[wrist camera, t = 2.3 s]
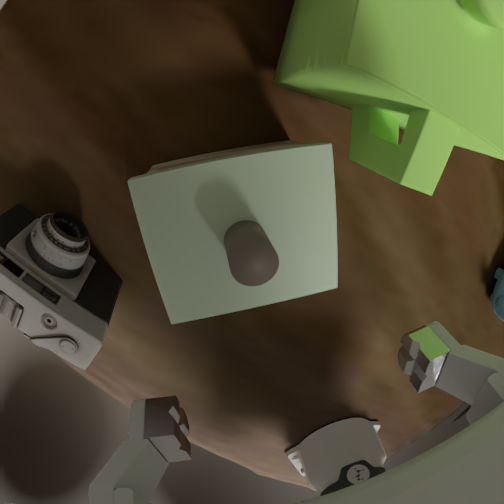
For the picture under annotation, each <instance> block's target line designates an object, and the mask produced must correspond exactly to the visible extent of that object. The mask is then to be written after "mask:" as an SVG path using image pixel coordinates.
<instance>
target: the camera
mask: <svg viewBox="0 0 504 504" xmlns="http://www.w3.org/2000/svg"><path fill="white" fill-rule="evenodd" d="M89 250H90V242H89V238H88V230H87V227H86V226H85V225H84V223H83V222H82V221H81V220H80V219H79V218H78V217H77V216H75V215H73V214H71V213H69V212H67V211H63V210H57V211H55V212H53V213H52V214H45V215H43V216H42V217H41V218H40V219H39V218H37V217H35V216H34V215H33V214H32V213H30V212H29V211H28V210H27V209H25V208H24V207H23V206H22V205H20V204H16V205H15V206H14V207H12V208H11V209H10V210H8V211H7V212H5V213H4V214H2V215H1V216H0V313H2V314H3V315H4V316H5V317H7V318H8V319H9V320H10V321H11V322H12V323H11V325H12V326H13V327H16V326H17V328H18V329H19V330H21V331H22V332H24V334H23V335H24V336H25V337H27V338H29V339H30V340H31V341H32V342H33V343H34V344H36V345H37V346H40V347H44V348H47V349H49V350H51V351H52V352H54V353H56V354H57V355H59V356H60V357H62V358H64V359H65V360H67V361H69V362H70V363H72V364H74V365H76V366H77V367H79V368H81V369H83V370H86V368H87V367H88V365H89V364H90V363H91V361H92V360H93V358H94V357H95V356H96V354H97V353H98V351H99V350H100V349H101V347H102V344H103V340H104V337H105V334H106V330H107V328H108V326H109V322H110V319H111V315H112V312H113V309H114V306H115V303H116V300H117V297H118V294H119V291H120V288H121V285H122V279H120V278H119V277H118V276H116V275H115V274H113V273H112V272H110V271H109V270H107V269H106V268H104V267H103V266H102V265H100V264H99V263H97V262H96V260H95V259H94V258H92V257H91V256H90V255H88V253H89Z"/></svg>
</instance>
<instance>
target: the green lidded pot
mask: <svg viewBox="0 0 504 504" xmlns="http://www.w3.org/2000/svg"><path fill="white" fill-rule="evenodd" d="M272 85H276V86H280V87H283V88H287V89H290V90H293V91H297V92H300V93H303V94H307V95H310V96H313V97H316V98H319V99H322V100H325V101H328V102H331V103H334V104H336V105H339V106H342V107H345V108H347V109H350V110H352V119H351V134H350V148H349V160H351V161H354V162H356V163H358V164H360V165H362V166H364V167H366V168H369V169H371V170H373V171H375V172H377V173H379V174H381V175H383V176H385V177H387V178H389V179H391V180H393V181H395V182H397V183H399V184H401V185H404V186H407V187H409V188H412V189H415V190H417V191H420V192H423V193H425V194H428V195H431V196H432V194H433V192H434V190H435V188H436V185H437V183H438V181H439V179H440V177H441V174H442V172H443V170H444V167H445V165H446V163H447V160H448V158H449V156H450V153H451V151H452V148H453V146H454V145H455V146H459V147H462V148H466V149H469V150H473V151H476V152H480V153H483V154H486V155H489V156H492V157H495V158H498V159H501V160H504V0H294V4H293V7H292V11H291V15H290V18H289V22H288V26H287V30H286V33H285V37H284V41H283V45H282V48H281V52H280V56H279V60H278V64H277V68H276V72H275V75H274V79H273V84H272ZM399 130H401V131H403V132H404V135H403V138H402V141H401V145H399V144H398V132H399Z"/></svg>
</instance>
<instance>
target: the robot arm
mask: <svg viewBox="0 0 504 504" xmlns="http://www.w3.org/2000/svg"><path fill="white" fill-rule="evenodd" d="M401 343H402V344H403V345H402V347H401V348H400V349H399V351H398V356H397V357H398V363H399V366H400V368H401V370H402V371H403V373H405V374H408V375H410V382H411V384H412V385H413V387H414V388H415V390H416V391H417V392H418V393H419V392H421V391H424V390H426V389H428V388H430V387H432V386H434V385H436V386H437V387H438V388H440V389H442V390H444V391H446V392H448V393H450V394H451V395H453V396H455V397H457V398H459V399H461V400H463V401H465V402H467V403H469V404H470V405H472V406H471V408H470V409H469V411H468V413H467V415H466V418H467V420H468V421H469V422H470V424H471V425H470V426H468V427H467V428H466V429H464V430H462V431H461V432H459V433H457V434H456V435H454V436H453V437H451V438H449V439H448V440H446V441H444V442H442V443H441V444H439V445H437V446H436V447H434V448H432V449H430V450H428V451H427V452H425V453H423V454H421V455H419V456H417V457H415V458H413V459H411V460H409V461H407V462H405V463H403V464H401V465H399V466H397V467H395V468H393V469H390V470H388V471H385V468H383V467H382V466H383V463H384V461H385V459H386V453H385V451H384V448H383V446H382V444H381V441H380V439H379V437H378V435H377V431H378V430H379V428H380V423H379V421H368V420H366V419H364V418H349V419H344V420H341V421H337V422H334V423H332V424H329V425H327V426H325V427H323V428H321V429H319V430H317V431H315V432H314V433H312V434H310V435H309V436H308V437H306V438H305V439H304V440H303V441H302V442H301V443H300V444H299V445H297V446H295V447H293V448H291V449H290V450H288V451H287V452H286V454H287V456H288V458H289V459H290V461H291V462H292V463H293V465H294V466H295V467H296V469H297V470H298V471H299V473H300V474H301V475H302V476H306V478H307V481H308V484H309V485H311V486H312V487H313V488H314V489H316V490H317V491H318V492H319V493H320V494H321V496H319V497H316V498H313V499H309V500H305V501H302V502H298V503H295V504H504V358H501V357H498V356H495V355H492V354H489V353H486V352H484V351H481V350H478V349H475V348H472V347H469V346H466V345H462V346H461V345H460V344H459V343H458V342H457V341H456V340H455V339H454V338H453V337H452V336H451V335H450V334H449V332H448V331H447V330H446V329H445V328H444V327H443V326H442V325H441V324H440V323H439V322H437V321H435V322H432V323H430V324H427V325H425V326H422V327H420V328H417V329H415V330H413V331H410V332H408V333H405V334H404V335H403V336H402V338H401ZM188 434H189V424H188V420H187V416H186V414H185V411H184V410H183V408H180V407H179V400H178V399H177V397H176V396H169V397H160V398H151V399H141V400H133V402H132V404H131V410H130V422H129V435H128V440H124V441H123V443H122V444H121V445H120V446H119V448H118V449H117V450H116V452H115V453H114V454H113V456H112V457H111V458H110V459H109V461H108V462H107V463H106V465H105V466H104V467H103V469H102V470H101V471H100V472H99V474H98V475H97V476H96V478H95V479H94V480H93V481H92V483H91V484H90V485H89V496H88V504H151V503H149V499H150V498H151V496H152V494H153V492H154V490H155V489H156V487H157V485H158V483H159V481H160V479H161V477H162V475H163V473H164V472H165V470H166V468H167V466H168V464H169V463H168V462H177V461H183V460H191V459H192V457H191V445H190V442H189V441H188V439H187V436H188ZM4 504H13V503H4Z"/></svg>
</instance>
